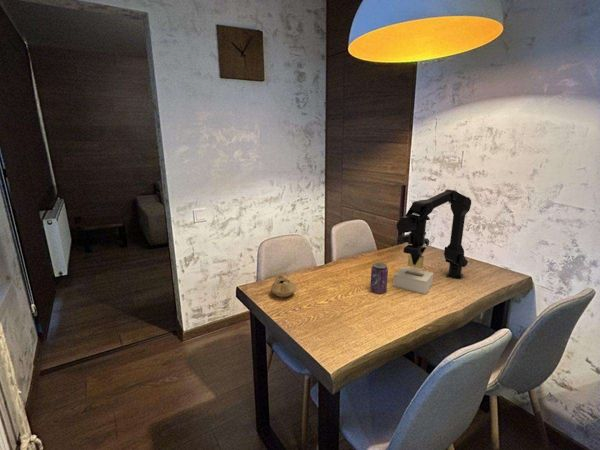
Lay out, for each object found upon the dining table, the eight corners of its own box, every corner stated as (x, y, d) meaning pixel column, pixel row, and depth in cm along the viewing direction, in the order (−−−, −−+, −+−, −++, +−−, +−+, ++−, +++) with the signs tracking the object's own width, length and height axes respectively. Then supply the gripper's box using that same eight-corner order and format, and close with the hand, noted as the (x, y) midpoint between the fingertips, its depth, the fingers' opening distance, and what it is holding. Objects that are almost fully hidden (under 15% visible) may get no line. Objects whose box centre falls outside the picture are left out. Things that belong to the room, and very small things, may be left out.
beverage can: (367, 288, 145) (368, 263, 142) (380, 286, 147) (382, 261, 144) (375, 295, 138) (377, 269, 136) (389, 292, 141) (391, 267, 138)
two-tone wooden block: (409, 264, 148) (410, 253, 147) (422, 266, 144) (423, 256, 143) (407, 265, 146) (408, 255, 145) (421, 268, 143) (422, 257, 141)
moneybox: (402, 277, 156) (403, 266, 155) (432, 285, 148) (433, 272, 147) (393, 286, 147) (394, 274, 145) (425, 294, 139) (426, 281, 137)
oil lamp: (286, 284, 149) (286, 268, 147) (301, 297, 136) (301, 280, 134) (264, 289, 144) (263, 272, 143) (277, 303, 132) (277, 285, 130)
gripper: (406, 223, 153) (404, 254, 157) (392, 232, 138) (390, 266, 142) (431, 227, 147) (427, 259, 151) (419, 236, 132) (416, 271, 136)
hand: (415, 263), depth 145 cm, fingers closed on two-tone wooden block, 2 cm apart
